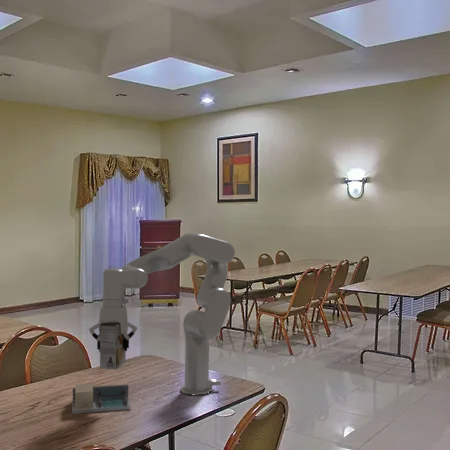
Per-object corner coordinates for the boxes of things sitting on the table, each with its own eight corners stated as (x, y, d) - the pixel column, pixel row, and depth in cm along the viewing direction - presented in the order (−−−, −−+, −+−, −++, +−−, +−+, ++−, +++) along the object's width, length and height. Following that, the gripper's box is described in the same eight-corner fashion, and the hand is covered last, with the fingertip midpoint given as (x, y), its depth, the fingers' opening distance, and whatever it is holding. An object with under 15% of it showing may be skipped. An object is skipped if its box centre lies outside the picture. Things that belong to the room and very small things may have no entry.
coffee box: (109, 361, 200) (110, 318, 200) (125, 362, 199) (126, 319, 199) (99, 368, 191) (99, 323, 191) (116, 369, 190) (116, 324, 190)
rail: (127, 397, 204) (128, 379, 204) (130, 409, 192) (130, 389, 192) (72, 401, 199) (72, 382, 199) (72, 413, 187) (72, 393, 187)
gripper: (137, 300, 200) (136, 347, 201) (88, 301, 196) (88, 349, 197) (139, 304, 193) (138, 352, 194) (88, 305, 189) (88, 354, 189)
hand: (113, 350), depth 195 cm, fingers closed on coffee box, 8 cm apart
